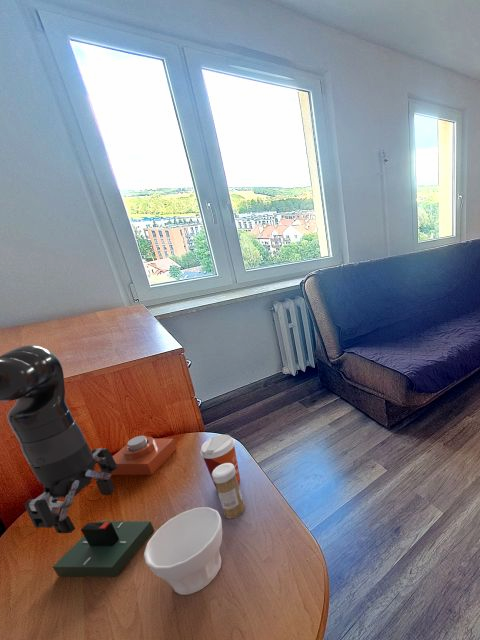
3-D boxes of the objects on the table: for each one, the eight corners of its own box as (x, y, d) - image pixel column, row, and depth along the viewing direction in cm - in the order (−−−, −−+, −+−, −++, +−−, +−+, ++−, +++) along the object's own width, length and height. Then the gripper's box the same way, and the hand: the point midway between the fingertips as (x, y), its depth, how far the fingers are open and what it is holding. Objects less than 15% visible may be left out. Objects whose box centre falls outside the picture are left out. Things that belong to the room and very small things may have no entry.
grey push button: (125, 451, 93) (123, 445, 92) (137, 441, 96) (135, 435, 96) (140, 451, 93) (137, 445, 92) (151, 441, 96) (149, 435, 96)
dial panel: (58, 576, 68) (51, 566, 66) (102, 530, 77) (98, 520, 76) (116, 577, 68) (111, 566, 66) (154, 530, 77) (150, 520, 76)
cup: (201, 613, 62) (186, 574, 58) (143, 600, 64) (125, 562, 60) (245, 547, 73) (235, 511, 69) (195, 538, 75) (183, 502, 71)
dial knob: (89, 546, 70) (80, 528, 69) (96, 538, 72) (87, 521, 70) (112, 546, 70) (104, 528, 69) (119, 538, 72) (111, 521, 70)
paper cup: (234, 497, 85) (223, 454, 80) (205, 496, 85) (191, 454, 80) (250, 473, 93) (240, 432, 88) (223, 472, 93) (211, 432, 88)
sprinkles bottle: (248, 502, 84) (237, 461, 79) (239, 519, 80) (227, 477, 75) (230, 503, 84) (218, 462, 79) (220, 520, 79) (207, 477, 75)
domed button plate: (108, 474, 92) (101, 458, 90) (138, 448, 101) (131, 432, 99) (151, 475, 92) (145, 458, 90) (177, 449, 101) (171, 433, 99)
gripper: (75, 424, 69) (102, 482, 75) (-10, 480, 55) (32, 546, 61) (111, 424, 69) (136, 482, 75) (35, 480, 55) (73, 546, 61)
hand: (89, 511), depth 68 cm, fingers open, 8 cm apart
